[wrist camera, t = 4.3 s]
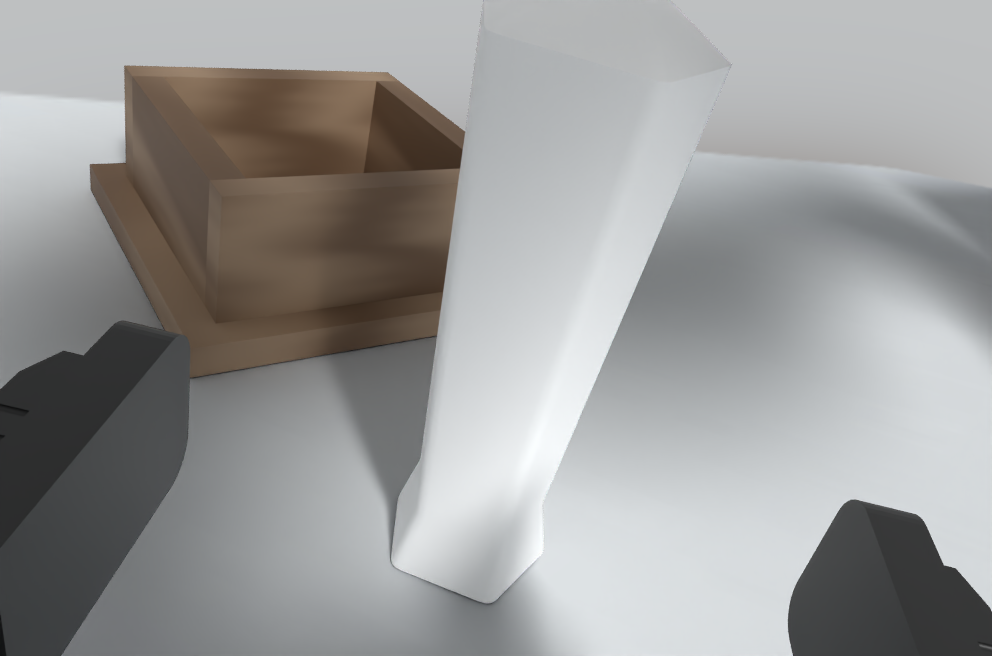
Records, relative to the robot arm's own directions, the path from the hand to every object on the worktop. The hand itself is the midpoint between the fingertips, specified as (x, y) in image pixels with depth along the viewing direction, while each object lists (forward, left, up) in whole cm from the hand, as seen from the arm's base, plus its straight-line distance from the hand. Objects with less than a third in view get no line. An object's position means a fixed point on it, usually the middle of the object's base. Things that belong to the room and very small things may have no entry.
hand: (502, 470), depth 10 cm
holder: (-6, -19, -9) cm, 22 cm away
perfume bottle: (-4, -6, -9) cm, 11 cm away
